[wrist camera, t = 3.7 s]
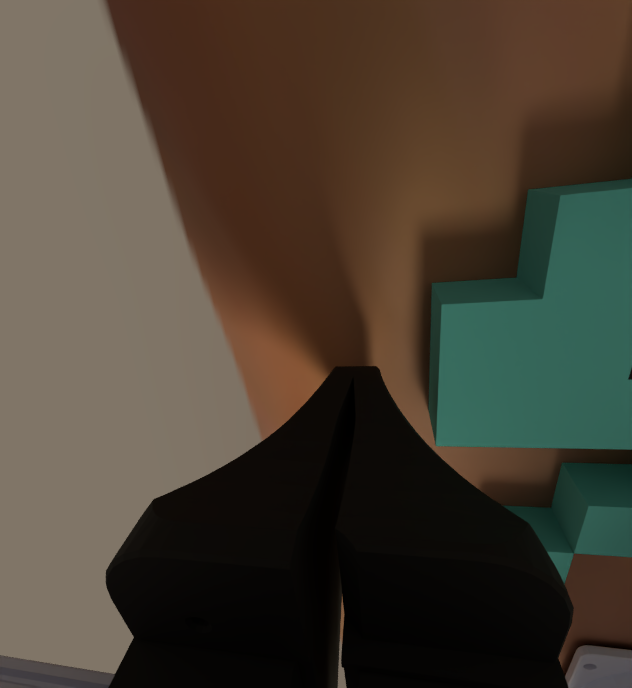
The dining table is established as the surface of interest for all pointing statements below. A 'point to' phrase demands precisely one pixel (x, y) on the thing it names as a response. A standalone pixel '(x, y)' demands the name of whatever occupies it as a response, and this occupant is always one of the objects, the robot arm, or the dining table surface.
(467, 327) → the alien figure
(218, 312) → the dining table surface
